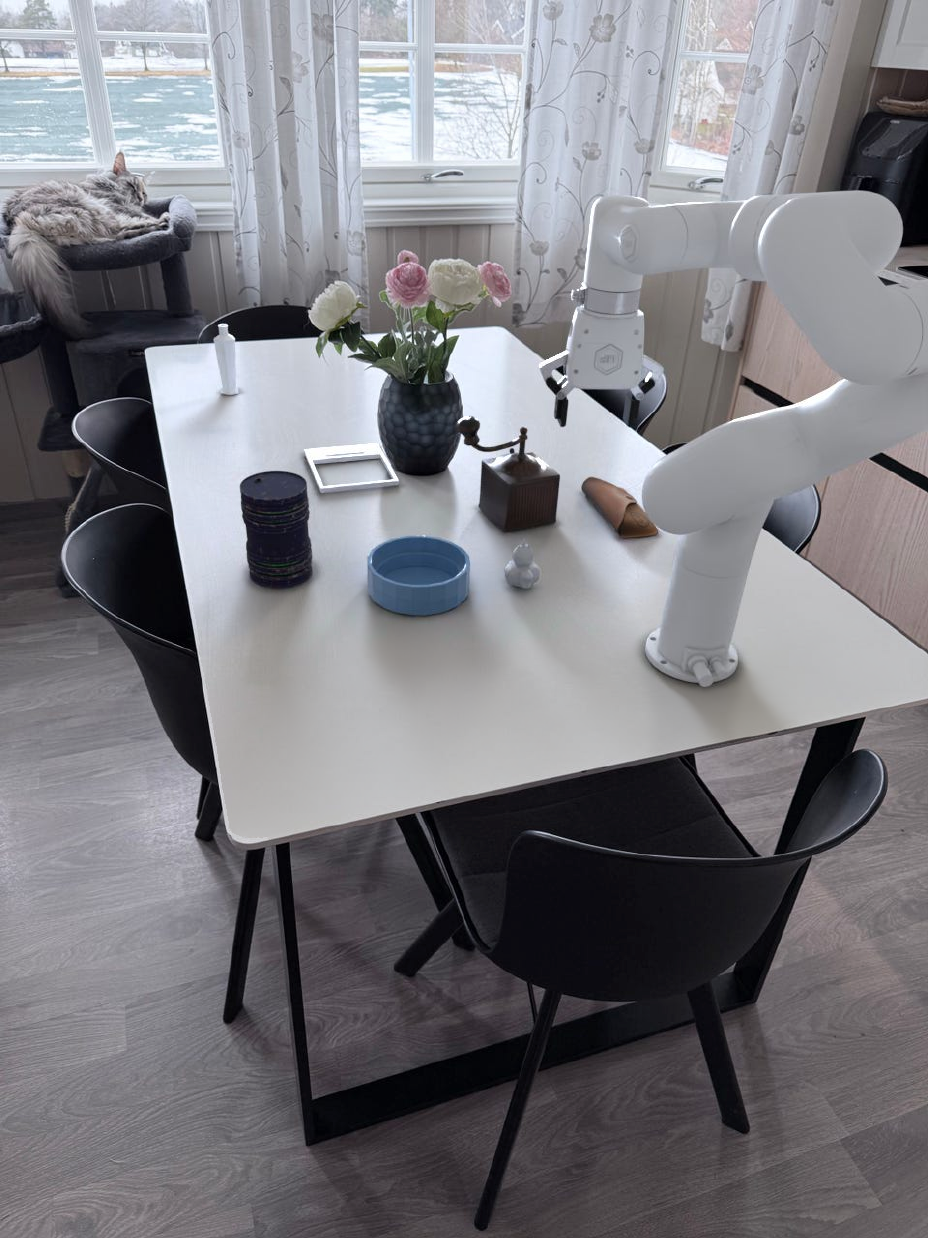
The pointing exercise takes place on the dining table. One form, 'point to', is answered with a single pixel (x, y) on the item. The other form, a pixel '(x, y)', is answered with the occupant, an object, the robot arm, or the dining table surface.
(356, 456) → the photo frame
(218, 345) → the perfume bottle
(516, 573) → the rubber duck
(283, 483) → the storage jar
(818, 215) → the robot arm
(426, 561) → the bowl
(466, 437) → the manual coffee grinder
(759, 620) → the dining table surface
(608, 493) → the sunglasses case
